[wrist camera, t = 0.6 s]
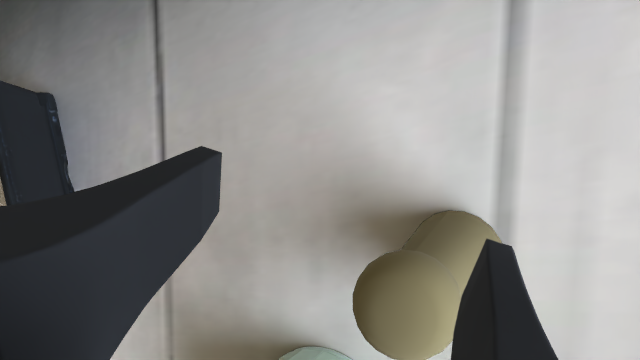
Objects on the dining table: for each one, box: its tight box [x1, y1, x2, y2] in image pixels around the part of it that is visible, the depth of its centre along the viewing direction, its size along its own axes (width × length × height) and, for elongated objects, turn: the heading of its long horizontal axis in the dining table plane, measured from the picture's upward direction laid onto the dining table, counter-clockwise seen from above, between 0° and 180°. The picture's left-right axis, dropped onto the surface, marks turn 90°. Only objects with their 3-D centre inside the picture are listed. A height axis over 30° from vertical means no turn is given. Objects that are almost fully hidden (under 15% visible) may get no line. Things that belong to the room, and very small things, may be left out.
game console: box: [0, 81, 74, 205], centre depth 47 cm, size 16×14×9 cm
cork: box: [353, 211, 502, 360], centre depth 29 cm, size 6×6×11 cm
